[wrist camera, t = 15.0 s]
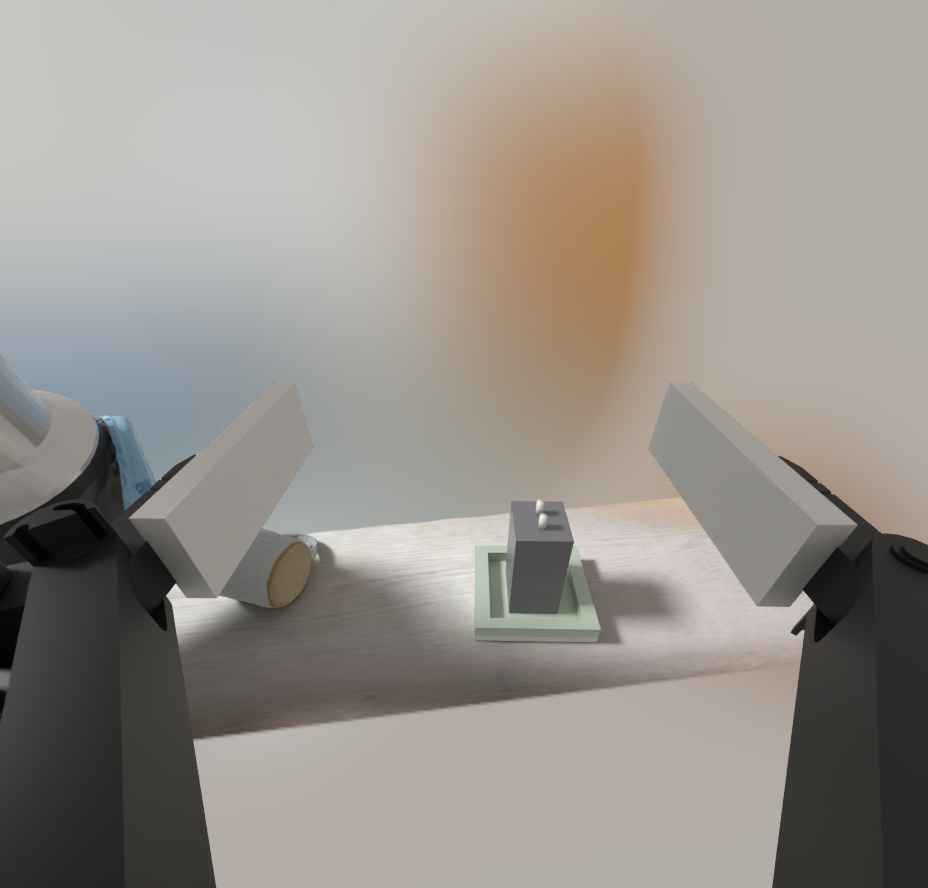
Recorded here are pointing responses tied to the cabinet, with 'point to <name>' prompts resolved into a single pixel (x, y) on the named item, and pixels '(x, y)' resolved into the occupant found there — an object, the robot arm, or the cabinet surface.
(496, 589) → the shallow pale green tray
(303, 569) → the ceramic mug
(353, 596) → the cabinet surface
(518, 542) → the charger brick
